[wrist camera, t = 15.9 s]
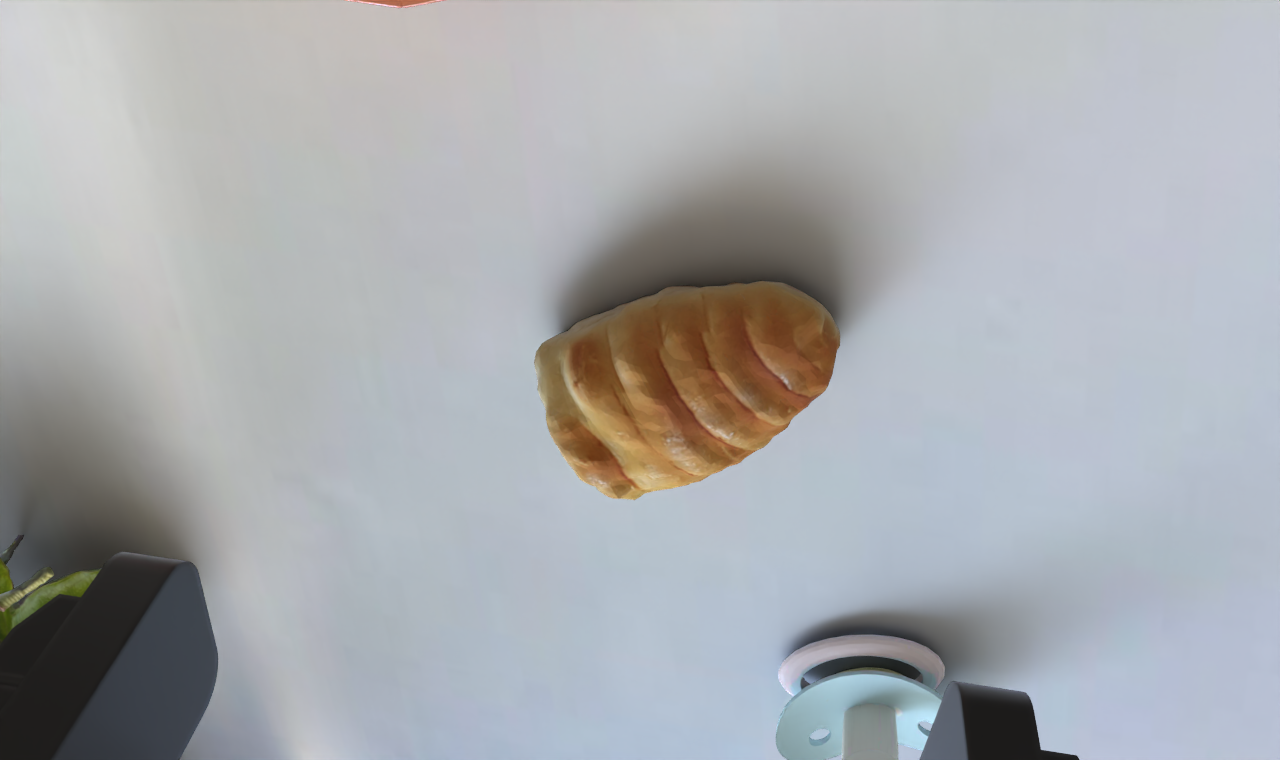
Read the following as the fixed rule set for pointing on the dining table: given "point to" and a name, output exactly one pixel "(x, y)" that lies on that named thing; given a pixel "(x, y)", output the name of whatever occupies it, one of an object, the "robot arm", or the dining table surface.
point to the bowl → (397, 2)
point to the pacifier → (858, 700)
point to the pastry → (683, 382)
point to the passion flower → (5, 610)
